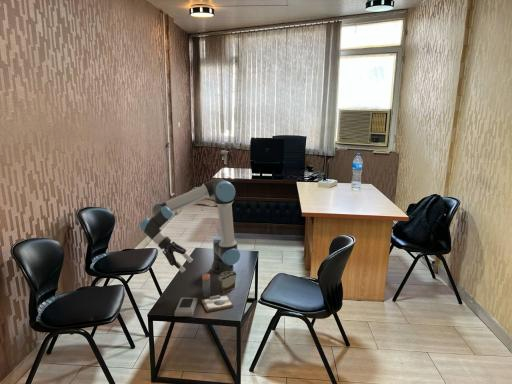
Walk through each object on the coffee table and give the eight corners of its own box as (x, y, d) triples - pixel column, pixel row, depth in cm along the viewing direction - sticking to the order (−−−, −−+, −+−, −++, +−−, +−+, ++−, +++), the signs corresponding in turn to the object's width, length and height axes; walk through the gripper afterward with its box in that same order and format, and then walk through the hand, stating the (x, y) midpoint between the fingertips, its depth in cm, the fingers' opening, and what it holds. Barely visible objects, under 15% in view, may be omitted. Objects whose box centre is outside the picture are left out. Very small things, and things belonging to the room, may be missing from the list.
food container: (230, 283, 228) (230, 268, 226) (236, 287, 223) (236, 272, 221) (214, 290, 219) (214, 274, 217) (221, 293, 215) (220, 278, 213)
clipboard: (201, 301, 206) (201, 298, 205) (226, 296, 211) (226, 293, 211) (206, 312, 195) (206, 308, 195) (233, 306, 201) (233, 303, 200)
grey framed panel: (174, 310, 191) (180, 296, 206) (174, 316, 192) (180, 302, 206) (192, 310, 191) (197, 296, 205) (192, 316, 192) (197, 302, 206)
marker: (202, 294, 214) (201, 274, 211) (209, 293, 216) (208, 272, 213) (203, 298, 210) (203, 277, 207) (211, 296, 212) (211, 276, 209)
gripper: (166, 237, 222) (190, 261, 224) (148, 252, 198) (176, 279, 199) (173, 229, 220) (198, 254, 222) (157, 244, 196) (185, 271, 198)
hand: (187, 266), depth 211 cm, fingers open, 13 cm apart
